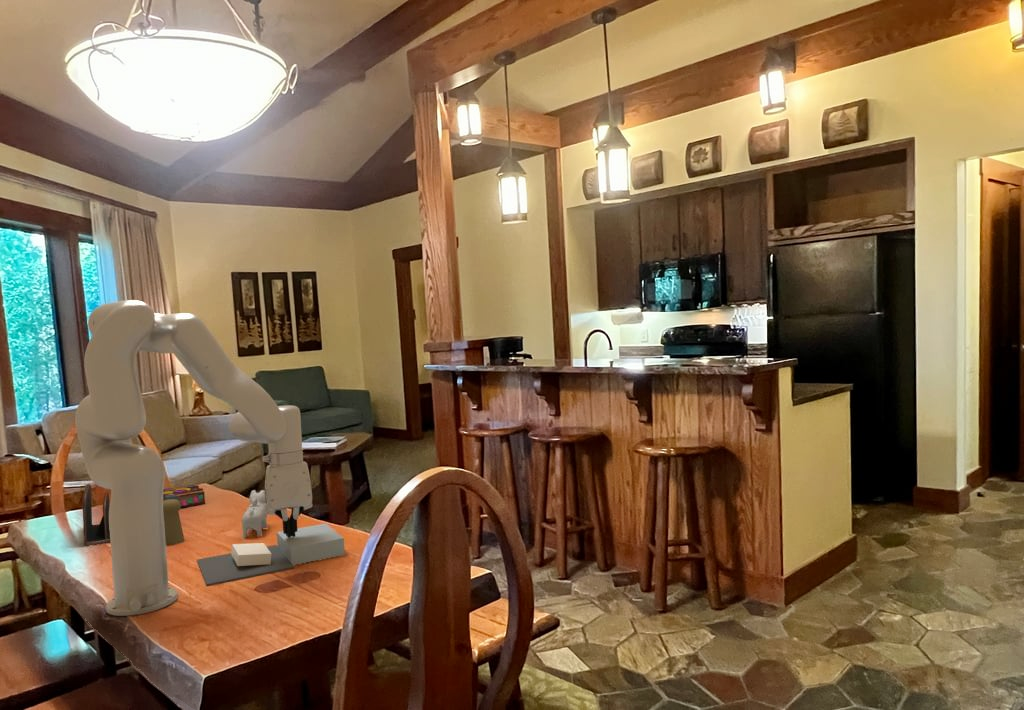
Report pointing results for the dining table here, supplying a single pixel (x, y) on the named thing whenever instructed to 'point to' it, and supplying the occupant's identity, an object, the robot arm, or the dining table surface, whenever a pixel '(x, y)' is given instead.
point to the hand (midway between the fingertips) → (290, 535)
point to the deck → (311, 544)
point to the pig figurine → (255, 514)
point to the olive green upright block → (172, 522)
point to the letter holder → (91, 532)
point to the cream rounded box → (251, 554)
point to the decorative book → (185, 495)
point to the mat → (240, 567)
